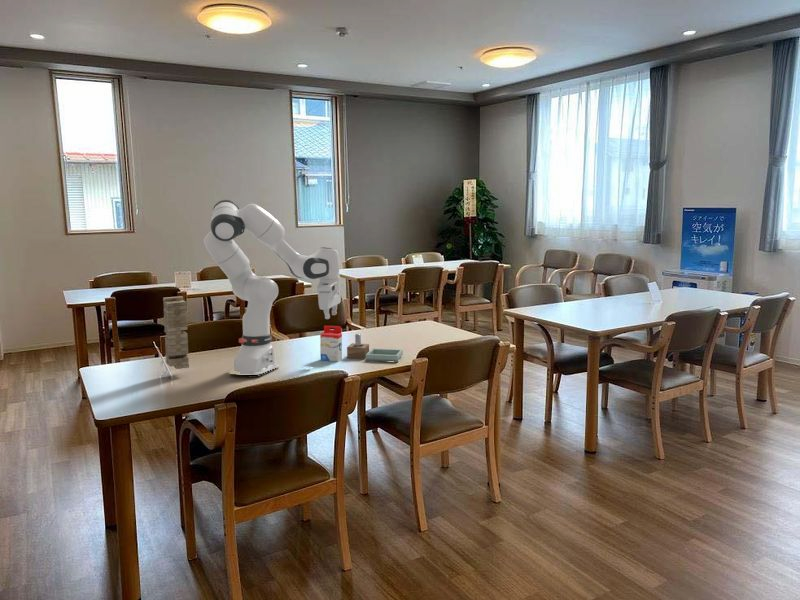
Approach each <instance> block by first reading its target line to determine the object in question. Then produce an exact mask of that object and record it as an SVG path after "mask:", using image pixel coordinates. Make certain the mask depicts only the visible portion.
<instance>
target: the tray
mask: <svg viewBox="0 0 800 600" xmlns="http://www.w3.org/2000/svg"><path fill="white" fill-rule="evenodd" d="M402 355H403V356H404V350H403V349H397V348H396V349H395V348H394V349H393V348H391V349H390V348H371V349H369V352H368V353H367V354H366V358H365V362H370V361H394V362H395V361H396V362H398V360H399V359H400V358H401V356H402ZM401 359H402V358H401ZM401 359H400V360H401ZM398 363H399V362H398Z"/></svg>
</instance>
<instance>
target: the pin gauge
mask: <svg viewBox="0 0 800 600" xmlns="http://www.w3.org/2000/svg"><path fill="white" fill-rule="evenodd" d="M354 336H355V346H356V347H361V344H362V343H361V341H362V340H361V339H362V337H361V336H362V335H361V333H356V334H355V335H354Z"/></svg>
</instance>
